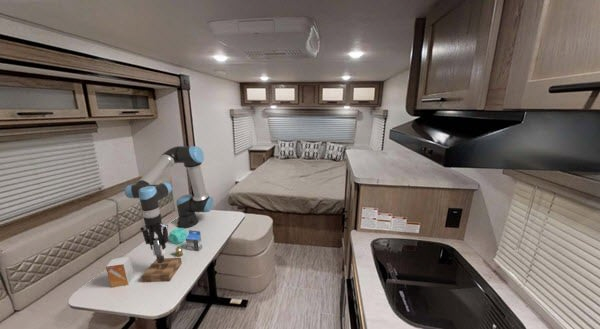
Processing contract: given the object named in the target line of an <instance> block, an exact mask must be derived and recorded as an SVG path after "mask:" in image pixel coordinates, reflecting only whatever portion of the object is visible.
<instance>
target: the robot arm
mask: <svg viewBox="0 0 600 329" xmlns="http://www.w3.org/2000/svg"><path fill="white" fill-rule="evenodd" d="M204 158H205V156H204V151H203V149H202V148H201V147H200V146H196V145H195V146H194V145H190V146H189V145H187V146H186V145H184V146H180V145H179V146H174V147H171V148H169V149H167V150H166V151H164V152H163V153H162V154H160V156H159V160H157V161H156V163H154V165H152V166H151V167H150V169H148V170H147V172H146V173H144V175H143V176H142V177H141V178H140V179H139V180H138V181H137V182H136V183H135V184H129V185H127V186H126V187H125V189H124V194H125V197H126V198H129V199H139V202H140V207H141V211H142V217H143V222H144V225H143V226H141V227H140V231H141V233H142V235H143V238H144V243H145V244H146V245H149V246H150V250H151V251H152V254H153V257H156V253H155V248H154V243H153V239H154V238H155V234H156V236H157V237H158V238H159V241H160V245H159V246H160V251H161V256H162V255H165V254H166V248H167V247H166V244H167V243H168V241H169V233H168V231H169V230H168V229H169V224H163V222H162V216H161V209H160V204H159V201H160V200H162V199H164V198H165V197H167V196H169V195H170V194H172V190H173V188H172V185H171V184H170V183H168V182H161V183H159V184H156V183H157V182H158V181H159V180H160V179H161V178H162V176H164V174H165V173H166V171H168V169H169V168H170V167H173V166H174V165H175V164H179V163H180V164H183V166H184V167H185V168H186V169H187V173H188V176H189V181H190V184H191V188H192V192H193V195H192V194H184V195H181V196H180V197H178V198H177V199H176V200H175V201H176V207H177V214H178V218H177V223H176V224H177V228H183V229H188V228H191V227H194V226H196V225H198V223H199V222H200V221H199V218H198V215H197V214H196V213H208V212H210V211H211V210H212V209H213V205H214V198H213V197H211V196H210V194H209V193H208V192H207V190H206V186H205V183H204V182H205V181H204V177H203V172H202V167H201V165H202V164H203V161H204V160H205V159H204Z"/></svg>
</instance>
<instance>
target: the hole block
mask: <svg viewBox="0 0 600 329" xmlns="http://www.w3.org/2000/svg"><path fill="white" fill-rule="evenodd" d="M182 264H183V263H182V257H167V258H166V257H164V262H162V263H157V258H156V259H155V260H153V263H151V265H150V266H149V267H148V268H147V269H146V270H145V271H144V273H143V274H142V275H141V280H142V283H158V282H159V283H160V282H171V280H172V279H173V277H174V276H175V274H176V273H177V271H178V270H179V268H180V267H181V266H182Z"/></svg>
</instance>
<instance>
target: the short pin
mask: <svg viewBox="0 0 600 329" xmlns="http://www.w3.org/2000/svg"><path fill="white" fill-rule="evenodd" d="M175 254H176V258H181V257H182V256H183V255H184V254H183V249H182V246H176V247H175Z"/></svg>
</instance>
